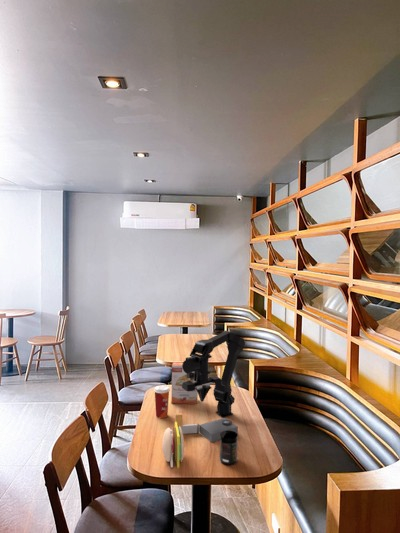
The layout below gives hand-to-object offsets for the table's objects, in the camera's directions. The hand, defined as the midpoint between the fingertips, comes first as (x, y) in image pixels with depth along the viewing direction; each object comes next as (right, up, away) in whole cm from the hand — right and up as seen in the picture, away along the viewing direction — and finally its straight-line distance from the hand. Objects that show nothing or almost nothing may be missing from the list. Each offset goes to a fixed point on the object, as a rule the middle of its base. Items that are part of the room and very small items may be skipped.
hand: (201, 401), depth 172 cm
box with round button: (+7, -11, -8) cm, 16 cm away
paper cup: (-20, -11, +9) cm, 24 cm away
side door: (-7, -11, -8) cm, 15 cm away
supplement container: (+10, -12, -30) cm, 34 cm away
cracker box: (-9, -10, +27) cm, 30 cm away
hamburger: (-11, -12, -29) cm, 33 cm away
